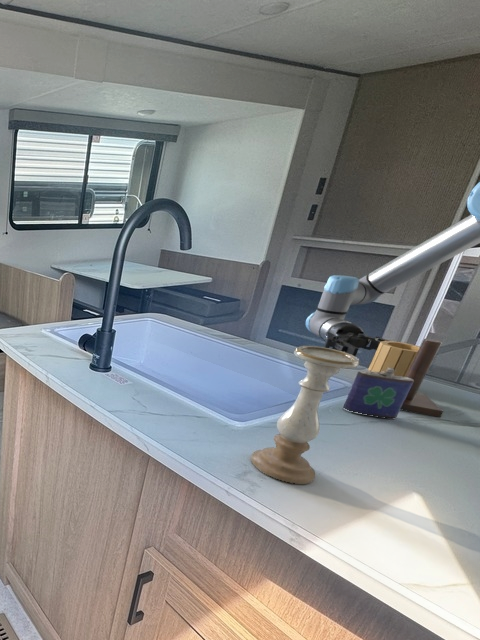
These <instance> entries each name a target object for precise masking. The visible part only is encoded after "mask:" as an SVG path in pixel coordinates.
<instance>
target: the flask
mask: <svg viewBox="0 0 480 640" xmlns="http://www.w3.org/2000/svg"><path fill="white" fill-rule="evenodd" d="M375 372H377V371H375ZM393 372H394V369H393V368H390V367H388V368H387V370H386V371H382V372H381V373H380V372H377V373H374V372H371V370H368V369H367V370H359V371H358V372H357V373H356V376H355V378H354V381H353V383H352V385H351V388H350V390H349V392H348V395H347V397H346V399H345V402H344V403H343V407H342V409H343V408H345V409H347V410H349V411H353V412H358V413H362V414H367V415H373V416H372V417H374V416H378V417H385V418H384V419H386V418H395V419H397V417H398V415H399V413H400V411H401V410H400V408H401V406H402V404H403V402H404V401H405V399H406V397H407V394H408V392H409V390H410V388H411V386H412V384H413V382H414V380H413V379H411V378H408V377H402V376H393V375H394V374H393ZM395 372H396V371H395ZM378 417H377V418H378Z"/></svg>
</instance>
